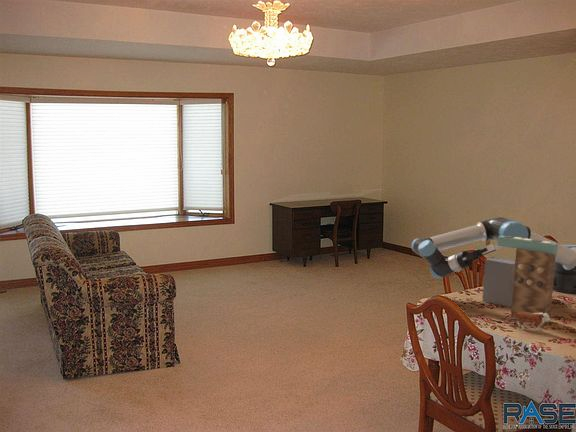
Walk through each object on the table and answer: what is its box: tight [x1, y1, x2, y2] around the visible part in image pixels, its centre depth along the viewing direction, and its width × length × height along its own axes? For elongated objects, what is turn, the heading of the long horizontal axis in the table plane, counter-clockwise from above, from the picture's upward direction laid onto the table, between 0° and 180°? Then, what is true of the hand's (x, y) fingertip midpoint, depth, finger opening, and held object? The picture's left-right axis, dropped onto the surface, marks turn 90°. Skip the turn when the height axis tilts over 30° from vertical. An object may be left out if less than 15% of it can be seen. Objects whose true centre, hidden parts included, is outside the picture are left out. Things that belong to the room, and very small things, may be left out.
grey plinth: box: [482, 256, 515, 308], centre depth 288 cm, size 13×8×20 cm, turn 48°
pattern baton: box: [497, 236, 558, 254], centre depth 263 cm, size 24×4×4 cm, turn 48°
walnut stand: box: [510, 248, 556, 326], centre depth 262 cm, size 14×8×30 cm, turn 48°
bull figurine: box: [515, 311, 551, 333], centre depth 250 cm, size 4×13×8 cm, turn 58°
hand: (500, 244), depth 270 cm, fingers open, 13 cm apart
